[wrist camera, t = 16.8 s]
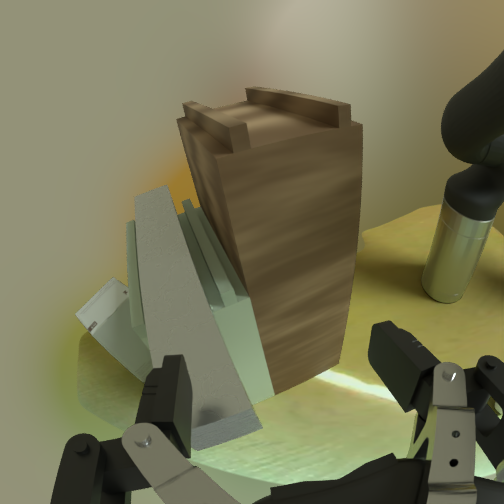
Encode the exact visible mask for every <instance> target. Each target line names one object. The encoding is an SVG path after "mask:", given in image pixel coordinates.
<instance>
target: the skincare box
mask: <svg viewBox="0 0 504 504" xmlns="http://www.w3.org/2000/svg"><path fill="white" fill-rule="evenodd" d="M75 315H76V316H77V318H78V319H79V320H80V322H81V323H82V324H83V325H84V327H85V328H86V329H87V330H88V331H89V333H90V334H91V335H92V336H93V337H94V338H95V339H96V340H97V341H98V342H99V343H100V344H101V345H102V346H103V347H104V348H105V349H106V350H107V351H108V352H109V353H110V354H111V355H112V356H113V357H114V358H116V359H117V360H118V361H119V362H120V363H121V364H122V365H123V366H124V367H125V368H127V369H128V370H129V371H130V372H131V373H132V374H133V375H135V376H136V377H137V378H138V379H139V380H141V381H142V382H143V383H144V382H145V380H146V376H147V375H148V374H149V373H150V372H151V370H152V369H153V365H152V359H151V354H150V350H149V349H148V348H147V346H146V345H145V344H144V343H143V341H142V340H141V339H140V338H139V336H138V335H137V334H136V332H135V331H134V330H133V328H132V323H131V313H130V302H129V289H128V287H127V286H125V285H124V284H122V283H121V282H119V281H118V280H116V279H115V278H114V277H113V278H111V279H110V280H109V281H108V282H107V283H106V284H105V285H104V286H103V287H102V288H101V289H100V290H99V291H98V292H97V293H96V294H95V295H94V296H93V297H92V298H91V299H90V300H89V301H88V302H87V303H86V304H85V305H84V306H83V307H82V308H81V309H80V310H79V311H78V312H77V313H76V314H75Z"/></svg>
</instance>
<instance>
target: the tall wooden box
mask: <svg viewBox="0 0 504 504" xmlns="http://www.w3.org/2000/svg"><path fill="white" fill-rule="evenodd" d="M245 89H246V94H247V101H244V102H239V103H235V104H230V105H226V106H222V107H218V108H214V109H212V108H209V107H207V106H204V105H201V104H199V103H196V102H193V101H189V102H186V103H182V104H183V108H184V112H185V117H182V118H179V119H177V123H178V127H179V131H180V135H181V139H182V142H183V146H184V150H185V153H186V157H187V161H188V164H189V168H190V171H191V175H192V178H193V182H194V185H195V189H196V192H197V196H198V199H199V203H200V206H201V208H202V210H203V212H204V214H205V216H206V218H207V220H208V222H209V223H210V225H211V227H212V229H213V231H214V233H215V235H216V237H217V238H218V240H219V242H220V244H221V246H222V248H223V250H224V251H225V253H226V255H227V257H228V259H229V261H230V263H231V264H232V266H233V268H234V270H235V272H236V274H237V275H238V277H239V279H240V281H241V283H242V285H243V286H244V288H245V290H246V292H247V294H248V295H249V297H250V300H251V305H252V308H253V312H254V317H255V320H256V323H257V324H256V325H257V327H258V328H257V329H258V331H259V335H260V339H261V344H262V348H263V351H264V356H265V360H266V363H267V367H268V371H269V375H270V379H271V383H272V386H273V390H274V394H275V395H277V394H279V393H281V392H283V391H286V390H288V389H290V388H292V387H294V386H296V385H298V384H300V383H302V382H304V381H306V380H308V379H310V378H312V377H314V376H316V375H318V374H320V373H322V372H324V371H326V370H328V369H330V368H331V367H333V366H335V365H337V364H339V359H340V354H341V350H342V345H343V340H344V334H345V329H346V323H347V318H348V312H349V306H350V299H351V292H352V285H353V278H354V270H355V262H356V253H357V243H358V233H359V221H360V207H361V188H362V160H363V157H362V156H363V153H362V152H363V126H362V124H360V123H357V122H354V121H351V106H350V104H347V103H343V102H339V101H334V100H330V99H326V98H321V97H316V96H312V95H306V94H301V93H295V92H289V91H283V90H277V89H270V88H262V87H249V88H245Z"/></svg>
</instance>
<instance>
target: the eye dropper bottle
mask: <svg viewBox="0 0 504 504" xmlns="http://www.w3.org/2000/svg"><path fill="white" fill-rule="evenodd" d="M495 409H496V410H497V411H498V412H499V413H500V414H503V411H502V408H501V407H500V406H499V405H498V403H497V402H496V401H495Z"/></svg>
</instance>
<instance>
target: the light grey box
mask: <svg viewBox="0 0 504 504" xmlns="http://www.w3.org/2000/svg"><path fill="white" fill-rule="evenodd" d="M182 204H183V207H184V210H185V212H184V213H182V214H179V215H178V218H179V221H180V224H181V227H182V230H183V233H184V236H185V239H186V241H187V244H188V247H189V250H190V253H191V256H192V258H193V261H194V264H195V267H196V269H197V272H198V275H199V278H200V280H201V283H202V286H203V288H204V291H205V294H206V296H207V299H208V301H209V304H210V306H211V309H212V312H213V314H214V317H215V319H216V322H217V324H218V327H219V329H220V332H221V334H222V336H223V339H224V341H225V344H226V346H227V349H228V351H229V353H230V356H231V358H232V360H233V363H234V365H235V367H236V370H237V372H238V374H239V377H240V379H241V381H242V383H243V386H244V388H245V390H246V392H247V394H248V397H249V399H250V401H251V403H252V405H253V404H256V403H258V402H261V401H263V400H265V399H268V398H270V397H272V396H274V395H275V394H274V390H273V386H272V383H271V379H270V375H269V371H268V367H267V363H266V360H265V356H264V351H263V348H262V344H261V339H260V335H259V331H258V329H257V328H258V327H257V325H256V324H257V323H256V320H255V317H254V312H253V308H252V305H251V300H250V297H249V295H248V294H247V292H246V290H245V288H244V286H243V285H242V283H241V281H240V279H239V277H238V275H237V274H236V272H235V270H234V268H233V266H232V264H231V263H230V261H229V259H228V257H227V255H226V253H225V251H224V250H223V248H222V246H221V244H220V242H219V240H218V238H217V237H216V235H215V233H214V231H213V229H212V227H211V225H210V223H209V222H208V220H207V218H206V216H205V214H204V212H203V210H202V208H201V207H198V208H195V209H194V207H193V205H192V203H191V201H190V199H187V200H184V201H182ZM126 224H127V225H126V229H127V230H126V233H127V234H126V236H127V238H126V239H127V272H128V289H129V302H130V313H131V323H132V328H133V330H134V331H135V332H136V334H137V335H138V336H139V338H140V339H141V340H142V341H143V343H144V344H145V345H146V346H147V348H148V349H149V343H148V337H147V331H146V325H145V318H144V311H143V303H142V295H141V287H140V277H139V267H138V255H137V242H136V224H135V221H134V220H133V221H130V222H127V223H126ZM149 350H150V349H149Z"/></svg>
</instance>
